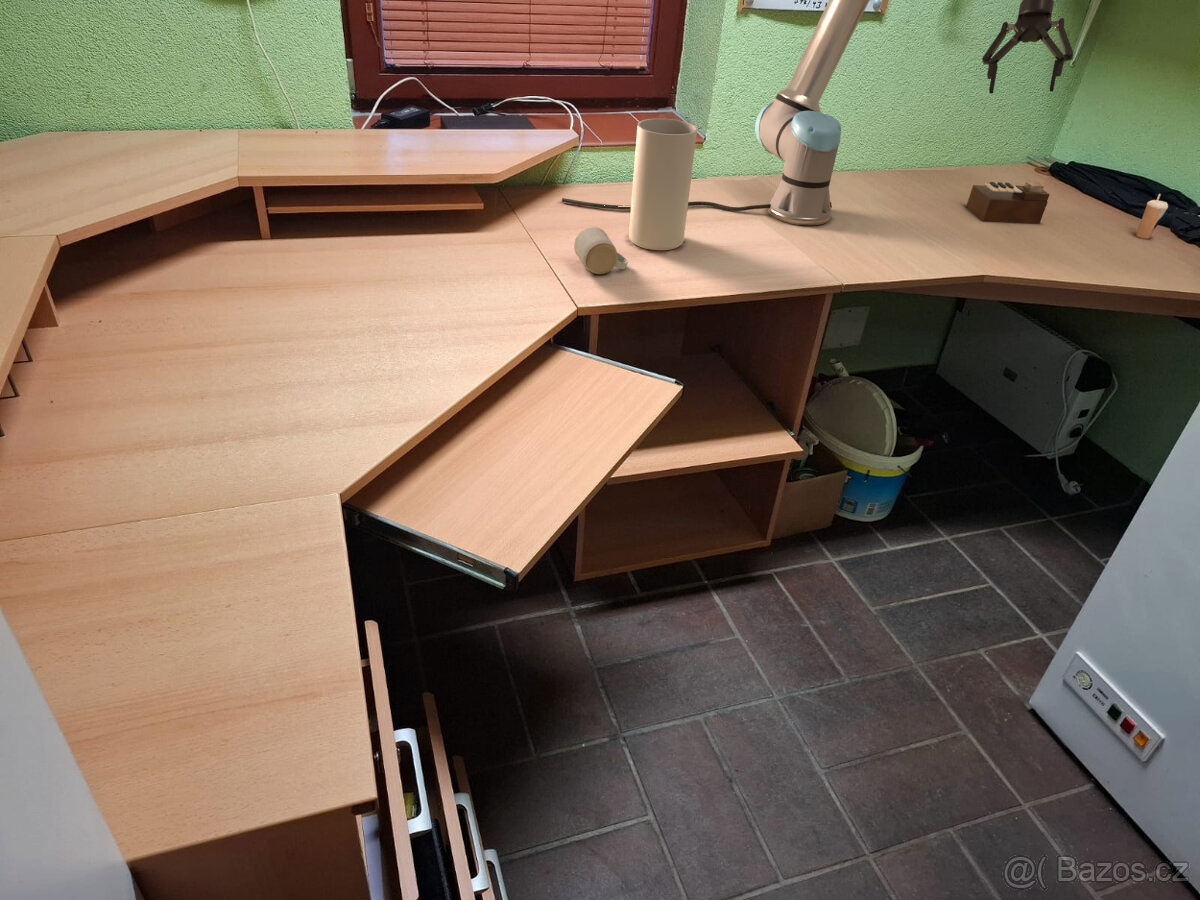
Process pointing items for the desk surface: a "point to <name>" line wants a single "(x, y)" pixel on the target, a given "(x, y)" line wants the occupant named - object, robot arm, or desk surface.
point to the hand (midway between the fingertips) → (1020, 90)
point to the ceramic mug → (597, 251)
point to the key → (1033, 187)
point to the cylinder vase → (661, 183)
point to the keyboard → (1002, 187)
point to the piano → (1007, 205)
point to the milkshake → (1151, 217)
